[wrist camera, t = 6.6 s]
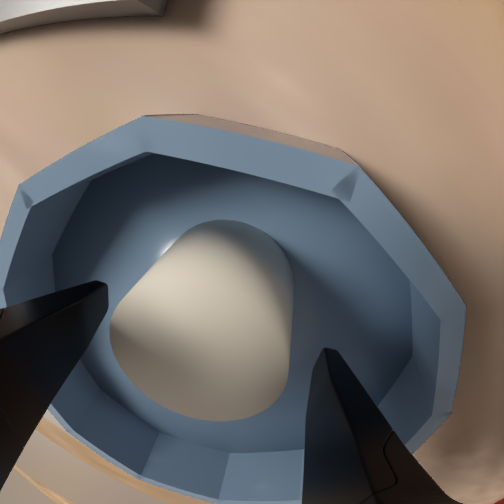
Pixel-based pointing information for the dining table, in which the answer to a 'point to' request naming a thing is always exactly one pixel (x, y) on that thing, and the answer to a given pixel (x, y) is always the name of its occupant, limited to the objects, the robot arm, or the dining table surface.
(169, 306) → the pebble sand
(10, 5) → the parts tray
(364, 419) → the robot arm
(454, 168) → the dining table surface
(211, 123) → the glazed bowl
